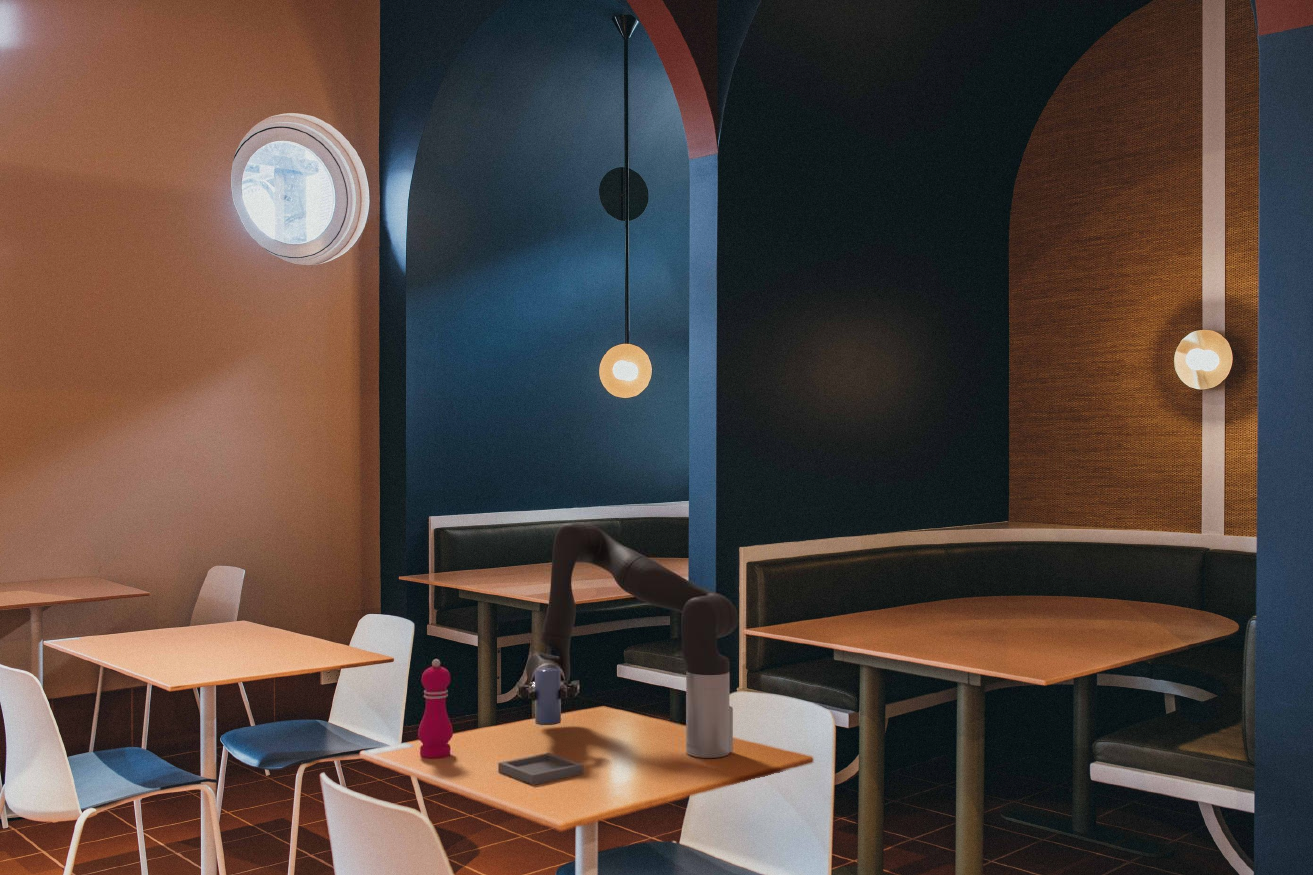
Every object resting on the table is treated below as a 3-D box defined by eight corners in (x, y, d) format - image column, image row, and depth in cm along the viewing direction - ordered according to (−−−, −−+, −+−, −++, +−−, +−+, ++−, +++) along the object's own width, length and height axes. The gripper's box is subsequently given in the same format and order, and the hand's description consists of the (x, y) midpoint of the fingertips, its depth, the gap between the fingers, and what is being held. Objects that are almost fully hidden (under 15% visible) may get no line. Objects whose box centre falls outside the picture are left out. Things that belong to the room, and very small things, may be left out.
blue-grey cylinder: (551, 718, 232) (550, 666, 232) (566, 722, 227) (565, 669, 228) (530, 722, 228) (529, 669, 229) (544, 726, 224) (544, 672, 225)
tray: (548, 761, 222) (548, 752, 222) (583, 773, 213) (583, 764, 213) (498, 771, 214) (498, 762, 214) (532, 784, 205) (532, 775, 205)
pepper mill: (459, 752, 229) (460, 657, 230) (438, 760, 223) (439, 662, 224) (431, 748, 232) (432, 655, 233) (410, 756, 226) (411, 660, 227)
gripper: (515, 665, 242) (513, 678, 225) (580, 663, 243) (582, 676, 226) (516, 699, 241) (513, 714, 225) (580, 697, 243) (582, 712, 226)
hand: (547, 695), depth 226 cm, fingers closed on blue-grey cylinder, 5 cm apart
